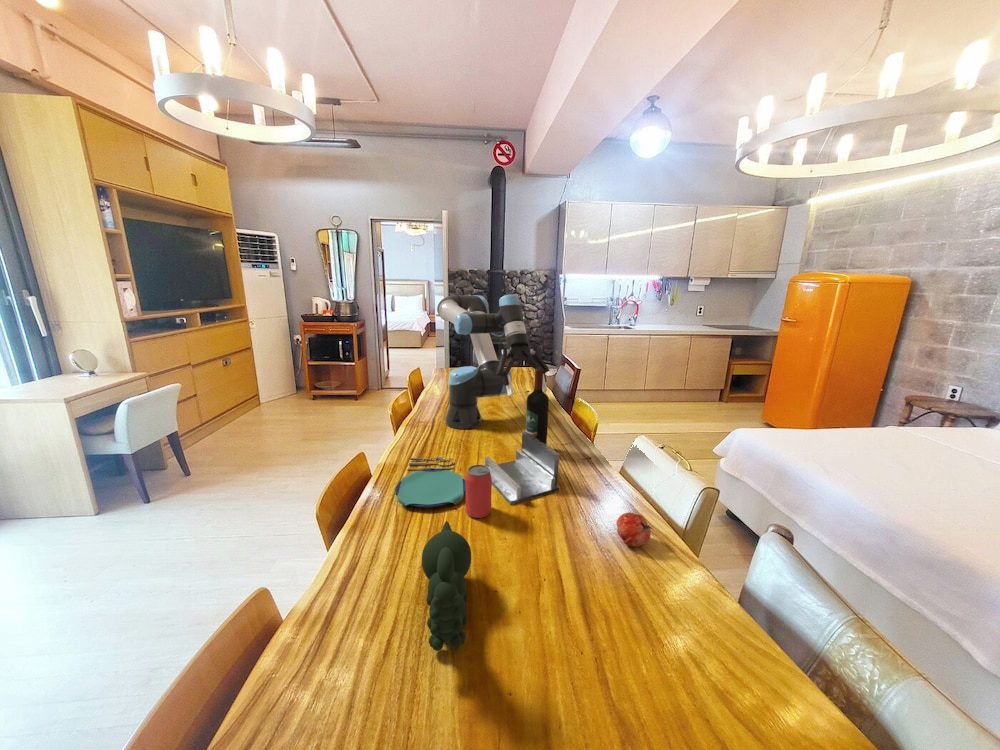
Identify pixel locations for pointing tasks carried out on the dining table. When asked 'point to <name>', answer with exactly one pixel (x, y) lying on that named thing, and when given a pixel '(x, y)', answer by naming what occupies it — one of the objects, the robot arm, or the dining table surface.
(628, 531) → the pomegranate
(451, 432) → the dining table surface
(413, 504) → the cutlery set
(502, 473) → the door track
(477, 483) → the beer can
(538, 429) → the wine bottle
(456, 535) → the toy figurine
